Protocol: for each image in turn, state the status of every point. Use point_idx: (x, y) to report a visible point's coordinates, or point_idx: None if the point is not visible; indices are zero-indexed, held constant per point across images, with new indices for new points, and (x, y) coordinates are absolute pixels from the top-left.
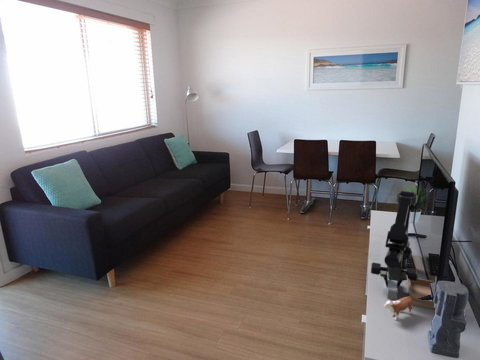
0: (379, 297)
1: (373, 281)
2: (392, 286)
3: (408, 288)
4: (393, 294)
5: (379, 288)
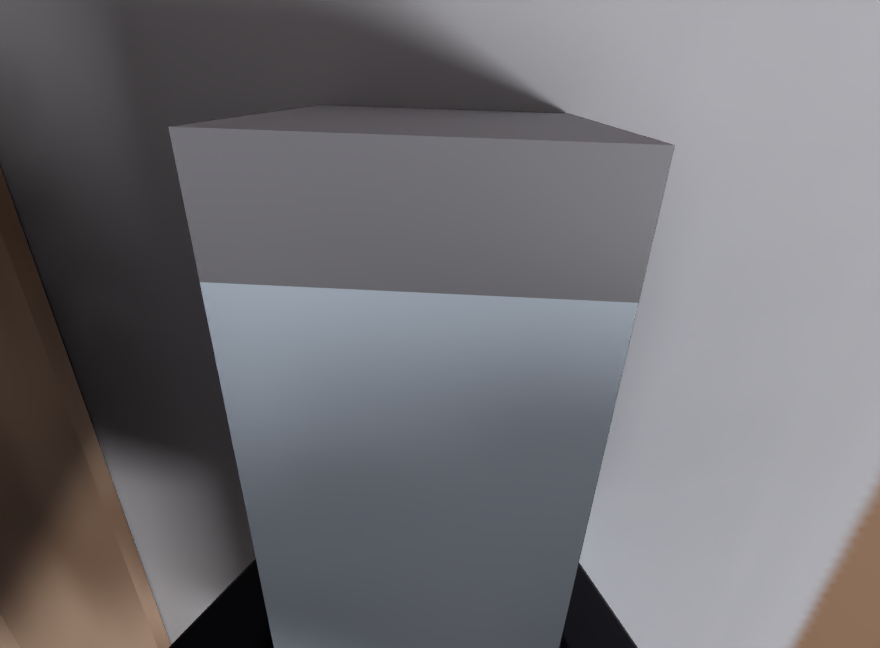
0: (808, 91)
1: (743, 639)
2: (422, 509)
3: (132, 571)
4: (394, 121)
5: (684, 478)
